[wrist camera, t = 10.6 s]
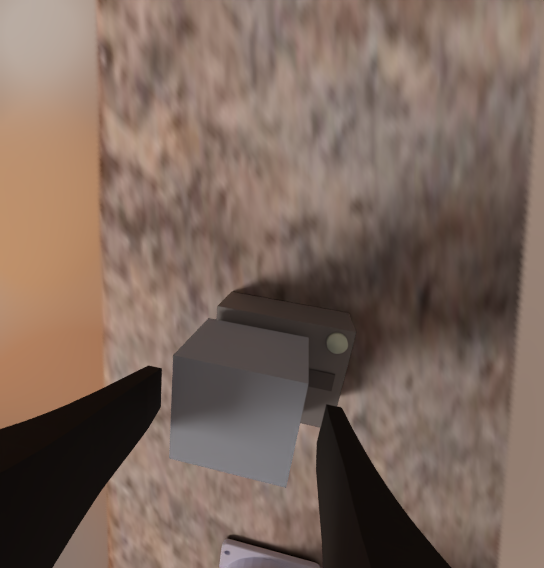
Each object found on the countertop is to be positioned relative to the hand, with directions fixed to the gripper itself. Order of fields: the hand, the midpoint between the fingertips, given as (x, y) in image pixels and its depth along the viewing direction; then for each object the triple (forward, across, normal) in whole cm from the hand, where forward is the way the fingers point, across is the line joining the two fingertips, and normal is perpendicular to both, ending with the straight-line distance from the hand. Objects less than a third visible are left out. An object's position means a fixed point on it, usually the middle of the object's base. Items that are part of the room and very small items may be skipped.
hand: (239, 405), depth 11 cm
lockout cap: (+2, 0, 0) cm, 2 cm away
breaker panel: (+6, -1, 0) cm, 6 cm away
